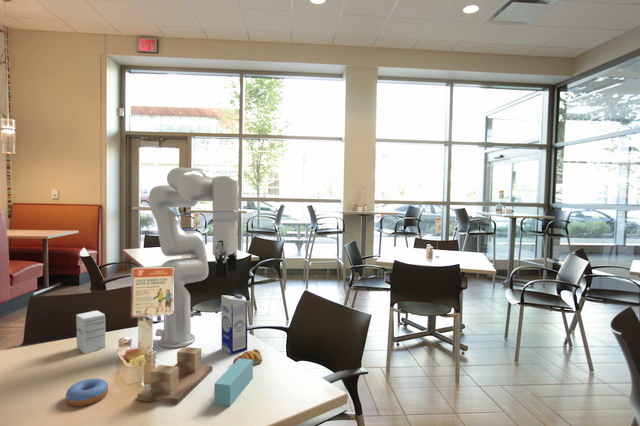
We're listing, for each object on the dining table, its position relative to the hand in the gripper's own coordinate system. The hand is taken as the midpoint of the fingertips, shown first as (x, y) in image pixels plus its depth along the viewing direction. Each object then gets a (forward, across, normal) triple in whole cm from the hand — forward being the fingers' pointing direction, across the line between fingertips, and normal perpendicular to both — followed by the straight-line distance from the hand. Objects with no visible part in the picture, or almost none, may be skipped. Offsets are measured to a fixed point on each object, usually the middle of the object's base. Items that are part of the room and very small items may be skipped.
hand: (227, 273), depth 115 cm
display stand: (+32, +4, -14) cm, 35 cm away
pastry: (+32, -12, +3) cm, 35 cm away
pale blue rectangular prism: (+33, +6, +4) cm, 34 cm away
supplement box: (+30, -18, -57) cm, 67 cm away
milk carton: (+32, -22, -5) cm, 39 cm away
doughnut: (+32, +14, -36) cm, 50 cm away
